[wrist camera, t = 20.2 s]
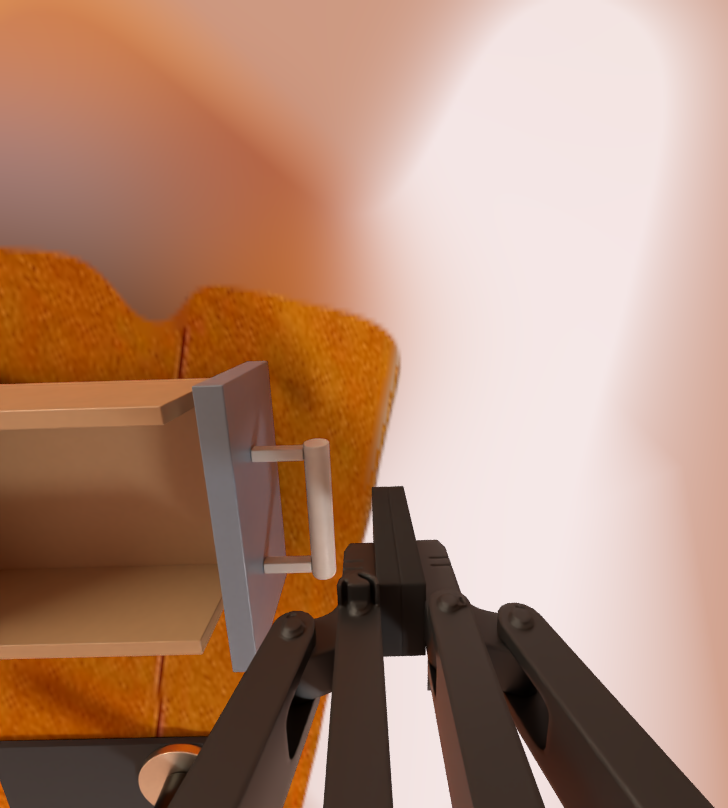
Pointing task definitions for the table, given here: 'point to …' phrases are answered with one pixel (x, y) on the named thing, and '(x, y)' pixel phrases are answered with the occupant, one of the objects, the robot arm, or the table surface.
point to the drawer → (148, 516)
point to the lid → (166, 772)
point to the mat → (79, 771)
